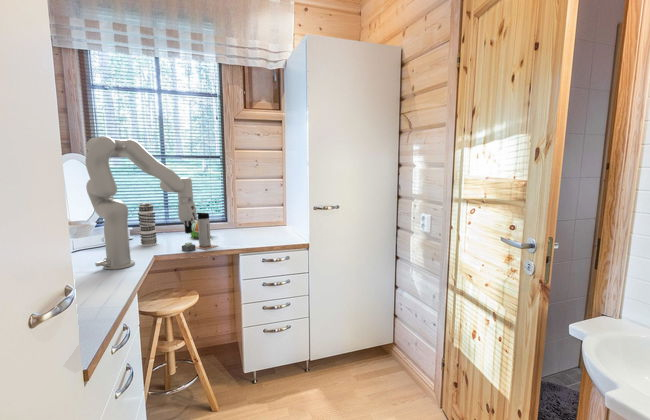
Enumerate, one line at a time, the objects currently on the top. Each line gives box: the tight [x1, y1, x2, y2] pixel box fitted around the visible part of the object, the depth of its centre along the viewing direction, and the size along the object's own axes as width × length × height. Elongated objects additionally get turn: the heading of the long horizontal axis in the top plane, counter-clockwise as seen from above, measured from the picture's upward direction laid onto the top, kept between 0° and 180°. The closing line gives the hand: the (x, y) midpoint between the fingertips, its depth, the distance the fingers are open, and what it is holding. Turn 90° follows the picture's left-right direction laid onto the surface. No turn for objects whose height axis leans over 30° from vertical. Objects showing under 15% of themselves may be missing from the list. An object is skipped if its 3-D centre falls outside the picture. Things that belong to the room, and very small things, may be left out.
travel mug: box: [196, 211, 212, 248], centre depth 193 cm, size 6×7×20 cm
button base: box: [181, 243, 196, 253], centre depth 186 cm, size 5×5×3 cm
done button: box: [184, 241, 193, 246], centre depth 186 cm, size 4×4×2 cm
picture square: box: [195, 244, 218, 251], centre depth 194 cm, size 10×10×1 cm
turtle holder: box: [189, 218, 199, 240], centre depth 221 cm, size 12×18×12 cm
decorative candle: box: [137, 202, 158, 247], centre depth 199 cm, size 9×9×25 cm
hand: (188, 232), depth 186 cm, fingers closed
